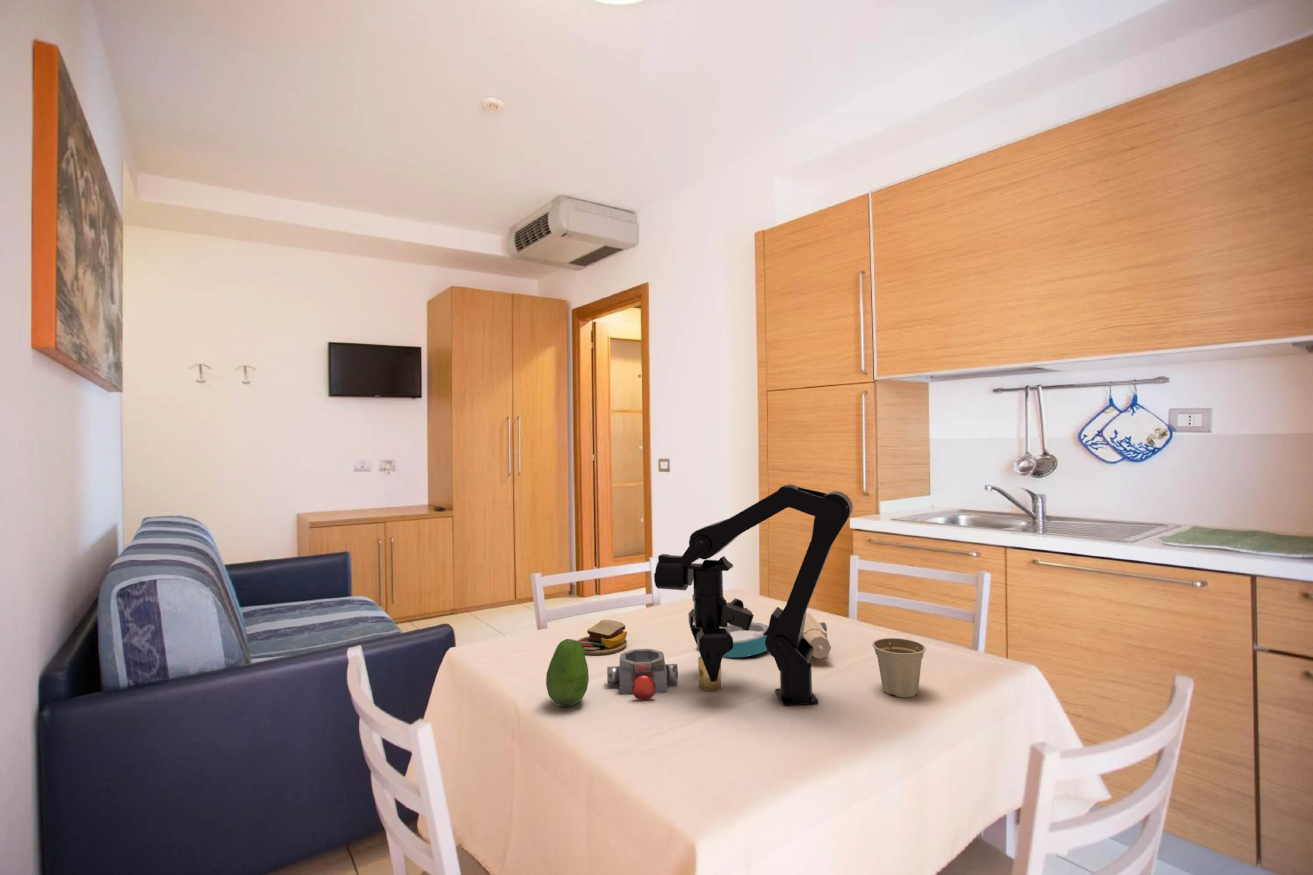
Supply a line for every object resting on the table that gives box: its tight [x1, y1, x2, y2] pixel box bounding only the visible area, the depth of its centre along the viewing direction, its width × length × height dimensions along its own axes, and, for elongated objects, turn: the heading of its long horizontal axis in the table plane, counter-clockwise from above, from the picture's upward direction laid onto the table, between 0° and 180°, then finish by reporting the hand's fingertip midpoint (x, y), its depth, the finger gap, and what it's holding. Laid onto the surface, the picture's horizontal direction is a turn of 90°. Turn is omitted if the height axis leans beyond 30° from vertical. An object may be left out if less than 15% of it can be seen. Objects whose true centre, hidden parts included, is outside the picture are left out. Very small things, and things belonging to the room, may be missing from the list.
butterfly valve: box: [720, 612, 832, 659], centre depth 142 cm, size 27×7×30 cm
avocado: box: [545, 638, 590, 707], centre depth 114 cm, size 8×8×12 cm
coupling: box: [697, 655, 722, 693], centre depth 120 cm, size 4×4×6 cm
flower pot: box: [871, 637, 927, 698], centre depth 116 cm, size 9×9×9 cm
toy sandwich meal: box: [576, 619, 628, 656], centre depth 146 cm, size 12×14×5 cm
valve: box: [606, 648, 679, 702], centre depth 121 cm, size 13×14×6 cm
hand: (710, 672), depth 120 cm, fingers open, 9 cm apart
